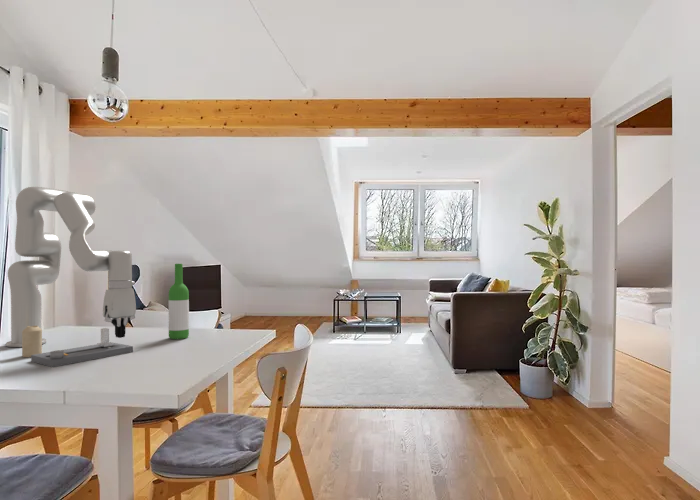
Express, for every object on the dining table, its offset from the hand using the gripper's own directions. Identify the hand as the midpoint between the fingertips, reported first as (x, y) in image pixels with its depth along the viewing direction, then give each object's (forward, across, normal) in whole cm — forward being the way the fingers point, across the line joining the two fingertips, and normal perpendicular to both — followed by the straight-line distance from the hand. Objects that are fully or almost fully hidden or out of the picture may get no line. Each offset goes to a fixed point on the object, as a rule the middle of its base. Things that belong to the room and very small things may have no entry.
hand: (120, 337), depth 169 cm
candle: (+5, +22, -16) cm, 27 cm away
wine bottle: (+5, -26, -3) cm, 27 cm away
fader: (+2, +5, 0) cm, 6 cm away
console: (+5, +12, 0) cm, 13 cm away
